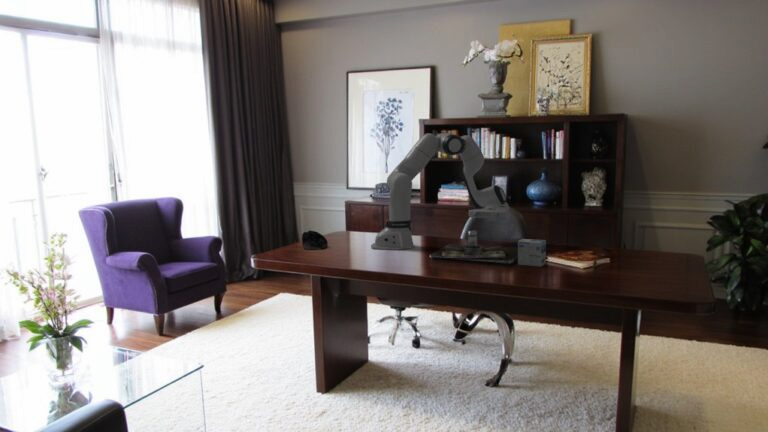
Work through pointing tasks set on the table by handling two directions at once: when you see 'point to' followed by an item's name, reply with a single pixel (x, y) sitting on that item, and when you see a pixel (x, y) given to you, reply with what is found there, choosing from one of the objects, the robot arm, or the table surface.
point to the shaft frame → (473, 251)
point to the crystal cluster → (313, 240)
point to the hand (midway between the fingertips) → (482, 215)
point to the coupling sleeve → (472, 237)
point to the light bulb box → (532, 252)
